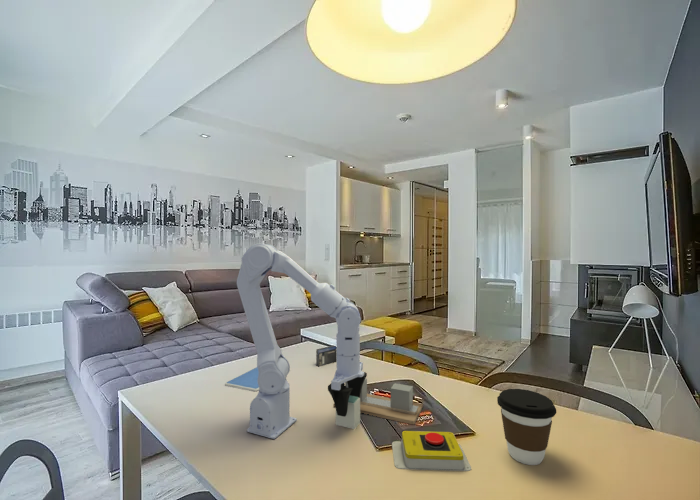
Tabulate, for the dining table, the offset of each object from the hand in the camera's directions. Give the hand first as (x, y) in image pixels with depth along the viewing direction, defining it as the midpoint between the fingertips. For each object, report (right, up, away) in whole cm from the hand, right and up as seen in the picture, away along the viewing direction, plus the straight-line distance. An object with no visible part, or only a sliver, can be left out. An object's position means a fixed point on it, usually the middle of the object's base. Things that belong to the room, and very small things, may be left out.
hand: (348, 408), depth 84 cm
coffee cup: (+37, -4, -13) cm, 39 cm away
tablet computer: (-30, -4, +30) cm, 42 cm away
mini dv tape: (-8, -4, +43) cm, 44 cm away
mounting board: (+8, -4, +8) cm, 12 cm away
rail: (+8, -4, +8) cm, 12 cm away
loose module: (0, -4, 0) cm, 4 cm away
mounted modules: (+8, -2, +8) cm, 12 cm away
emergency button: (+17, -5, -13) cm, 22 cm away
